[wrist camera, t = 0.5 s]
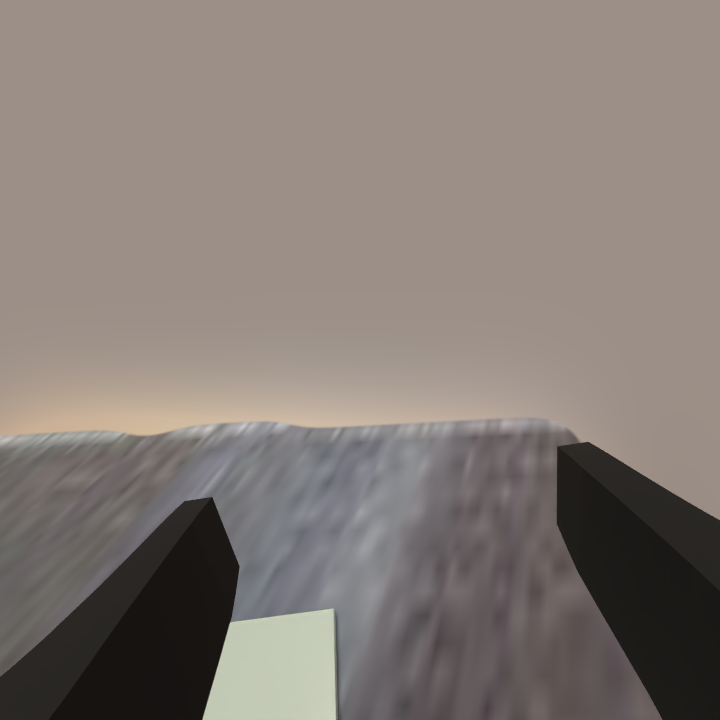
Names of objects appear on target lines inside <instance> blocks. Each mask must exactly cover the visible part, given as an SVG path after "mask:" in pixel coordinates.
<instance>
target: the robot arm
mask: <svg viewBox="0 0 720 720" xmlns="http://www.w3.org/2000/svg"><path fill="white" fill-rule="evenodd" d="M557 525H558V527H559V530H560V532H561V534H562V537H563V539H564V541H565V544H566V546H567V549H568V551H569V553H570V555H571V558H572V560H573V562H574V564H575V566H576V569H577V571H578V573H579V575H580V576H581V578H582V580H583V582H584V583H585V585H586V587H587V589H588V590H589V592H590V594H591V596H592V597H593V599H594V601H595V603H596V604H597V606H598V608H599V610H600V611H601V613H602V615H603V616H604V618H605V620H606V622H607V623H608V625H609V627H610V628H611V630H612V632H613V634H614V635H615V637H616V639H617V640H618V642H619V644H620V646H621V647H622V649H623V651H624V652H625V654H626V656H627V658H628V659H629V661H630V663H631V664H632V666H633V668H634V670H635V671H636V673H637V675H638V676H639V678H640V680H641V682H642V683H643V685H644V687H645V688H646V690H647V692H648V694H649V695H650V697H651V699H652V701H653V703H654V705H655V706H656V708H657V710H658V712H659V714H660V716H661V718H662V719H663V720H720V520H718V519H716V518H714V517H713V516H711V515H709V514H707V513H706V512H704V511H702V510H701V509H699V508H697V507H695V506H694V505H692V504H690V503H688V502H687V501H685V500H683V499H682V498H680V497H678V496H676V495H675V494H673V493H672V492H670V491H668V490H667V489H665V488H663V487H662V486H660V485H658V484H656V483H655V482H653V481H652V480H650V479H648V478H647V477H645V476H644V475H642V474H640V473H639V472H637V471H635V470H634V469H632V468H631V467H629V466H627V465H626V464H624V463H622V462H621V461H619V460H618V459H616V458H614V457H613V456H611V455H610V454H608V453H606V452H604V451H603V450H601V449H600V448H598V447H596V446H595V445H593V444H591V443H589V442H585V443H578V444H571V445H564V446H557ZM238 574H239V564H238V562H237V559H236V556H235V554H234V551H233V549H232V546H231V544H230V541H229V539H228V536H227V534H226V531H225V528H224V526H223V523H222V521H221V518H220V516H219V513H218V511H217V508H216V506H215V503H214V500H213V498H212V497H210V498H203V499H196V500H190V501H184V502H183V503H182V504H181V505H180V506H179V507H178V508H177V509H176V510H175V511H174V512H173V513H171V514H170V515H169V516H168V517H167V518H166V519H165V520H164V521H163V522H162V523H161V524H160V525H159V526H158V528H157V529H156V530H155V531H154V532H153V533H152V534H151V535H150V536H149V537H148V538H147V539H146V540H145V541H144V542H143V543H142V544H141V545H140V546H139V547H138V548H137V549H136V550H135V551H134V552H133V553H132V554H131V555H130V556H129V557H128V558H127V559H126V560H125V561H124V562H123V563H122V564H121V565H120V566H119V567H118V568H117V569H116V570H115V571H114V572H113V573H112V574H111V575H110V576H109V577H108V578H107V579H106V580H105V581H104V582H103V583H102V584H101V585H100V586H99V587H98V588H97V589H96V590H95V591H94V592H93V593H92V594H91V595H90V596H89V597H88V598H87V599H86V600H84V601H83V602H82V603H81V604H80V605H79V606H78V607H77V608H76V609H75V610H74V611H73V612H72V613H71V614H70V615H69V616H68V617H67V618H65V619H64V620H63V621H62V622H61V623H60V624H59V625H58V626H57V627H56V628H55V629H54V630H53V631H52V632H51V633H50V634H49V635H47V636H46V637H45V638H44V639H43V640H42V641H41V642H40V643H39V644H38V645H36V646H35V647H34V648H33V649H32V650H31V651H30V652H29V653H27V654H26V655H25V656H24V657H23V658H22V659H21V660H19V661H18V662H17V663H16V664H15V665H14V666H13V667H11V668H10V669H9V670H8V671H7V672H5V673H4V674H3V675H2V676H1V677H0V720H203V716H204V713H205V709H206V706H207V702H208V699H209V695H210V692H211V688H212V685H213V681H214V678H215V674H216V671H217V667H218V664H219V660H220V657H221V653H222V650H223V646H224V643H225V639H226V635H227V632H228V628H229V624H230V621H231V617H232V611H233V606H234V600H235V594H236V587H237V581H238Z"/></svg>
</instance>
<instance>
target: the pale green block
mask: <svg viewBox="0 0 720 720" xmlns="http://www.w3.org/2000/svg"><path fill="white" fill-rule="evenodd" d="M203 720H338V693H337V650H336V613H335V611H334V609H327V610H320V611H312V612H305V613H297V614H290V615H282V616H275V617H267V618H260V619H252V620H245V621H237V622H230V624H229V628H228V632H227V635H226V639H225V643H224V646H223V650H222V653H221V657H220V660H219V664H218V667H217V671H216V674H215V678H214V681H213V685H212V688H211V692H210V695H209V699H208V702H207V706H206V709H205V713H204V716H203Z"/></svg>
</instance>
